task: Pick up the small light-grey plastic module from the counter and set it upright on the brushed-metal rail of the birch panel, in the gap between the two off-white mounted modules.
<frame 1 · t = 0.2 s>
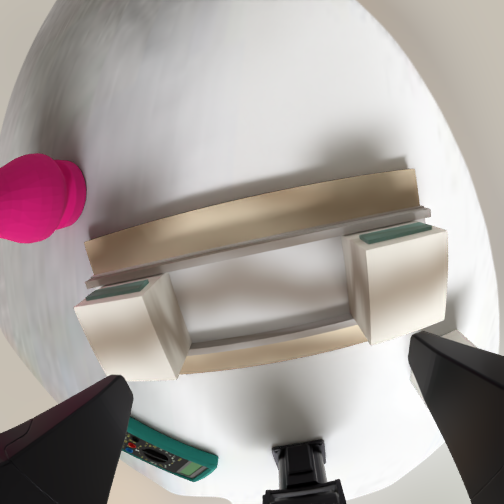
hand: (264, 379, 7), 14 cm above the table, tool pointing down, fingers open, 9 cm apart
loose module: (433, 355, 23), on the table
digital multimeter: (163, 443, 29), on the table
pepper mill: (64, 193, 20), on the table
rail panel: (261, 285, 22), on the table
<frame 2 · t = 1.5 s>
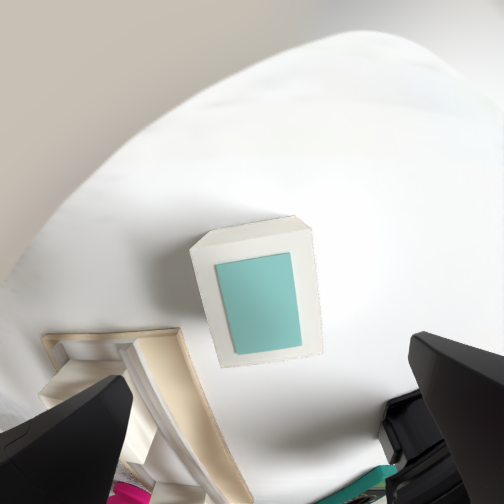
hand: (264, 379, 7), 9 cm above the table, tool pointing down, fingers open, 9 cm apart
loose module: (261, 271, 16), on the table
digital multimeter: (357, 487, 24), on the table
pepper mill: (134, 490, 26), on the table
rail panel: (161, 445, 21), on the table
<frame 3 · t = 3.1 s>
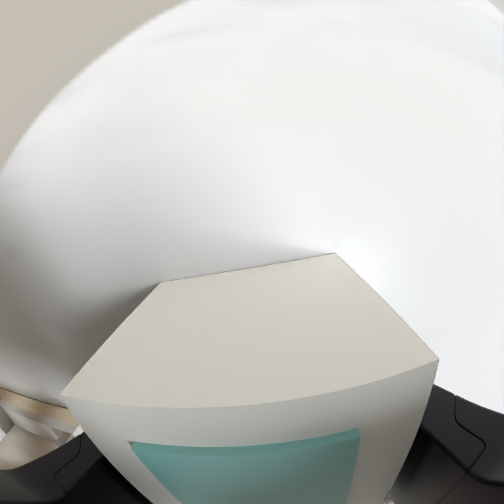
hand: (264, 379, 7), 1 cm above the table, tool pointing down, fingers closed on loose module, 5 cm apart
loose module: (263, 358, 8), on the table, touching gripper
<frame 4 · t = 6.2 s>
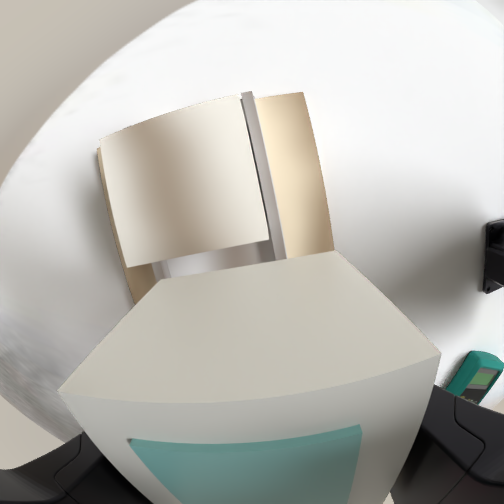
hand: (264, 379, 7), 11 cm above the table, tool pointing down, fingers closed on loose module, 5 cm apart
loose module: (263, 356, 8), point 10 cm above the table, touching gripper
digital multimeter: (449, 399, 22), on the table
rail panel: (239, 319, 19), on the table
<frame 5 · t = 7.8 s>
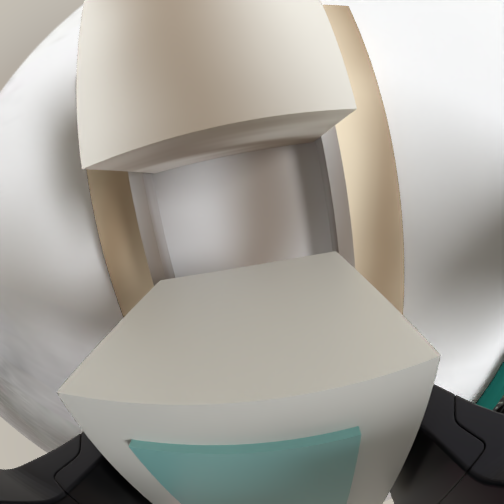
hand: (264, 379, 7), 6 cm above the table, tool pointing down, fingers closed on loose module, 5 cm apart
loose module: (263, 357, 8), point 5 cm above the table, touching gripper
digital multimeter: (486, 399, 16), on the table
rail panel: (261, 296, 13), on the table
when the fingers open (4 cm above the table, at t = 9.2 s): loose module drops 1 cm, resting on rail panel.
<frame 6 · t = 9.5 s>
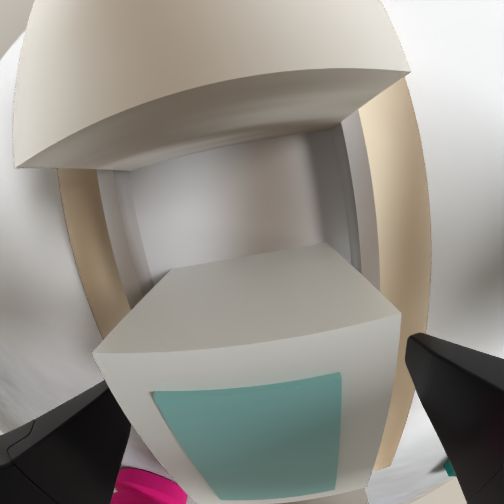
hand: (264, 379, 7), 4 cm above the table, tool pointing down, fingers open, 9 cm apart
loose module: (263, 338, 9), point 2 cm above the table, touching rail panel
pepper mill: (153, 483, 15), on the table
rail panel: (262, 319, 11), on the table
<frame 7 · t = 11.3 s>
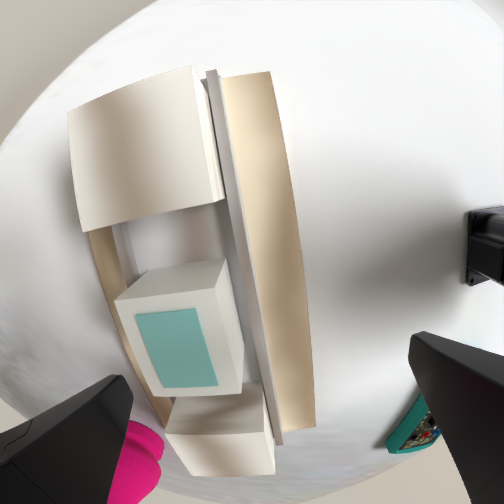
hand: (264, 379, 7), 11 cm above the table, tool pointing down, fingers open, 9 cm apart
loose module: (197, 308, 17), point 2 cm above the table, touching rail panel
digital multimeter: (432, 397, 22), on the table
pepper mill: (138, 435, 23), on the table
rail panel: (201, 299, 18), on the table
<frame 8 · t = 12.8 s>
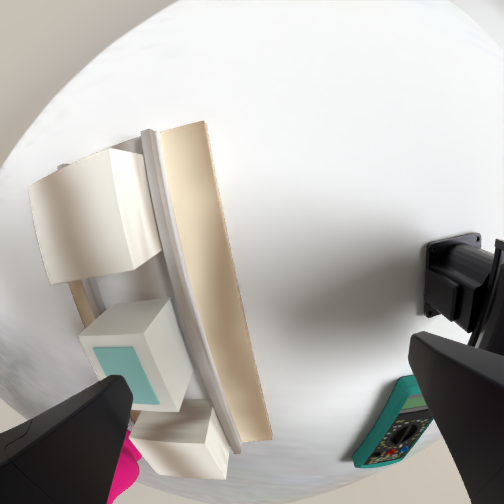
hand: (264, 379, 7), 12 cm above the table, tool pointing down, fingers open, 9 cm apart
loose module: (152, 337, 19), point 2 cm above the table, touching rail panel
digital multimeter: (397, 417, 23), on the table
pepper mill: (122, 437, 25), on the table
rail panel: (159, 327, 20), on the table
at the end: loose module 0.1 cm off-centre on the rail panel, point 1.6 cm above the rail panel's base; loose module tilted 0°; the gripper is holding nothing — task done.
